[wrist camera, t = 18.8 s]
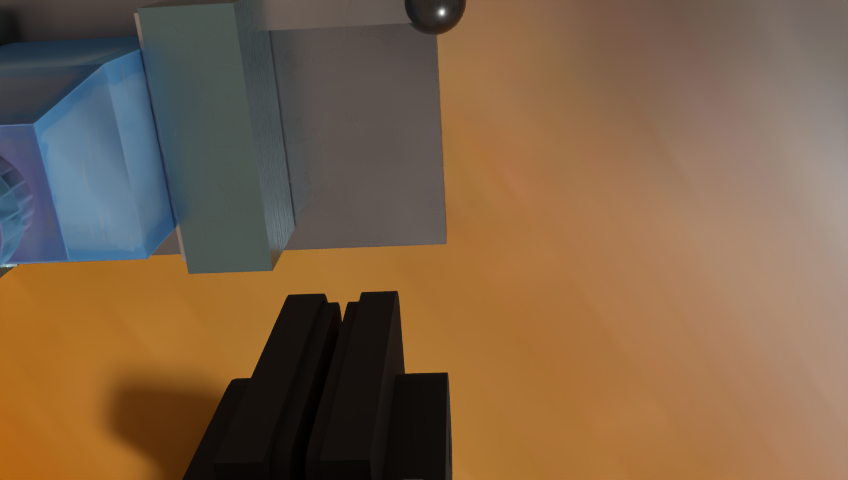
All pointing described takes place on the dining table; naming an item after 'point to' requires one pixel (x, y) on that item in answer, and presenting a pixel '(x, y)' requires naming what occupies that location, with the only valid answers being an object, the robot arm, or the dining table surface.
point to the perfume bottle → (79, 154)
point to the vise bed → (318, 121)
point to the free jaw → (239, 114)
